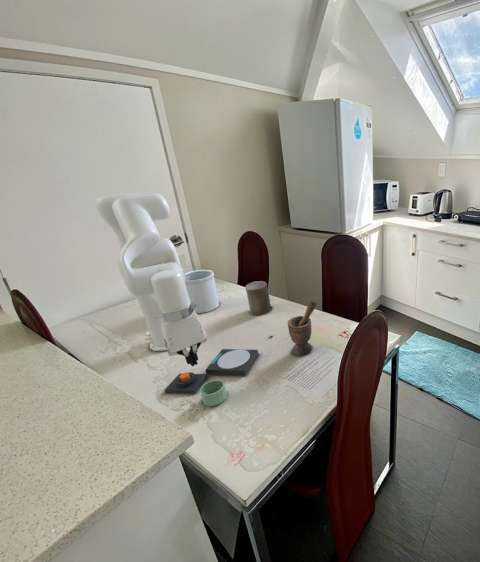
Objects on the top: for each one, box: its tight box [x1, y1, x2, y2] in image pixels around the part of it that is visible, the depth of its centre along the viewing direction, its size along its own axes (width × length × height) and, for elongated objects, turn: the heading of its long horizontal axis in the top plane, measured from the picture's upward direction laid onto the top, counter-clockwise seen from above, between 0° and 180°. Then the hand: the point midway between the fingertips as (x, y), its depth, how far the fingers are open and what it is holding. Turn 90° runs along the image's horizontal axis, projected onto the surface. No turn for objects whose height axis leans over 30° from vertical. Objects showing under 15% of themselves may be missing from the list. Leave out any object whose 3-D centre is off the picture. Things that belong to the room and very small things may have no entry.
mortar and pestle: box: [287, 299, 317, 356], centre depth 120 cm, size 12×9×20 cm
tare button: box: [180, 372, 190, 382], centre depth 104 cm, size 3×3×2 cm
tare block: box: [164, 371, 209, 395], centre depth 105 cm, size 10×8×3 cm
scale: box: [205, 348, 260, 377], centre depth 114 cm, size 14×12×3 cm
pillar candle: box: [244, 280, 272, 316], centre depth 150 cm, size 10×10×15 cm
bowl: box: [199, 379, 228, 407], centre depth 98 cm, size 7×7×5 cm
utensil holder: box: [184, 269, 220, 314], centre depth 153 cm, size 15×15×18 cm
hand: (193, 363), depth 97 cm, fingers closed
